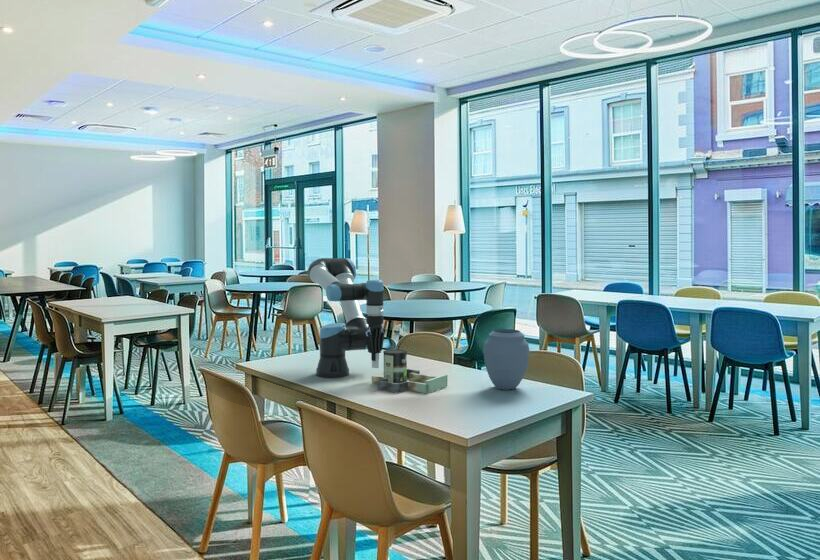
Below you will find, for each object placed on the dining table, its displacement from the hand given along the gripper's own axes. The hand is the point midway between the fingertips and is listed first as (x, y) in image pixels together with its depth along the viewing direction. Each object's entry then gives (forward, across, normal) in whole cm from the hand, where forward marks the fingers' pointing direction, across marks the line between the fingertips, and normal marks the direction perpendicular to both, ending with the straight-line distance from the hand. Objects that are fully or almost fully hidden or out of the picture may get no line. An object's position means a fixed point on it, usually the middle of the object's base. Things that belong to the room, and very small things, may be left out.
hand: (375, 367), depth 292 cm
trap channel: (+6, 0, -16) cm, 17 cm away
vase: (+6, +19, -55) cm, 58 cm away
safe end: (+6, 0, -30) cm, 31 cm away
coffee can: (+6, 0, -11) cm, 12 cm away
